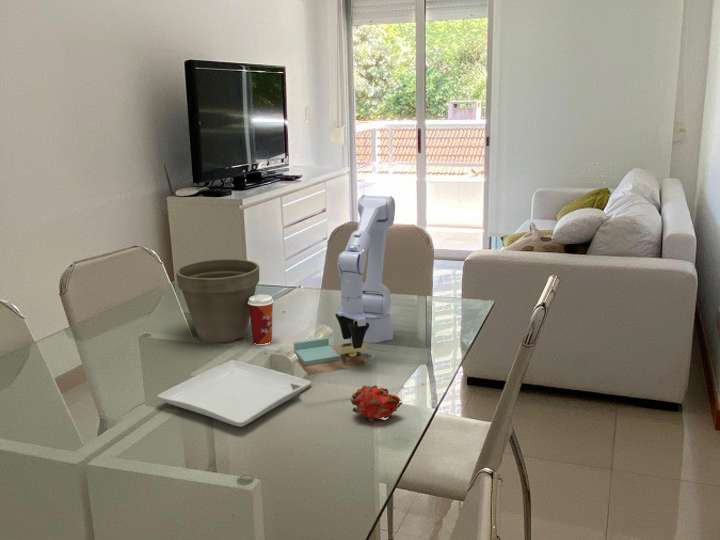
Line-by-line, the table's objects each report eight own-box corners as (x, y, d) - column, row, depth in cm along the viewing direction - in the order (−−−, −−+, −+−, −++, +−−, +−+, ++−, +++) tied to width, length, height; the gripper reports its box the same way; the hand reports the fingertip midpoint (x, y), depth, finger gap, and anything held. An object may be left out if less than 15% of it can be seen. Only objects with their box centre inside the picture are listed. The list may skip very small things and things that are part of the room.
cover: (327, 347, 201) (327, 337, 200) (339, 359, 192) (339, 349, 191) (293, 352, 198) (293, 342, 197) (304, 365, 189) (304, 354, 188)
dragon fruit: (347, 421, 164) (397, 428, 164) (348, 415, 156) (401, 423, 156) (352, 385, 167) (401, 393, 167) (353, 378, 159) (405, 386, 159)
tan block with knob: (362, 357, 194) (362, 340, 193) (365, 360, 192) (365, 343, 191) (338, 361, 191) (338, 344, 190) (342, 364, 189) (341, 347, 188)
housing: (349, 349, 204) (349, 338, 203) (371, 369, 190) (371, 357, 189) (290, 358, 198) (290, 347, 197) (308, 380, 183) (308, 367, 182)
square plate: (242, 437, 154) (241, 421, 153) (155, 408, 168) (154, 394, 167) (313, 393, 177) (313, 378, 176) (232, 370, 191) (231, 357, 190)
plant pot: (178, 326, 224) (173, 260, 219) (254, 318, 232) (251, 254, 226) (184, 353, 201) (178, 281, 196) (269, 344, 209) (266, 274, 203)
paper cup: (270, 347, 206) (268, 302, 202) (245, 345, 207) (243, 300, 204) (278, 338, 213) (277, 294, 210) (254, 336, 215) (252, 293, 211)
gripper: (328, 289, 192) (329, 336, 195) (347, 304, 179) (348, 354, 182) (352, 287, 194) (352, 333, 198) (373, 301, 181) (373, 350, 185)
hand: (352, 343), depth 190 cm, fingers open, 7 cm apart
